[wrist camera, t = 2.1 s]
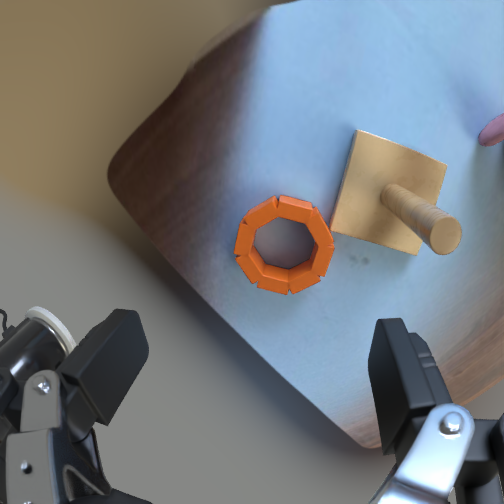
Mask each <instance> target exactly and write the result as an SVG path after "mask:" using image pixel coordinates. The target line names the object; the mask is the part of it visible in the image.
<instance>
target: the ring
mask: <svg viewBox="0 0 504 504" xmlns="http://www.w3.org/2000/svg"><path fill="white" fill-rule="evenodd" d="M277 217H281V218H285V219H289V220H292V221H296V222H300V223H304V224H306V226H307V228H308V229H309V231H310V233H311V235H312V236H313V238H314V240H315V244H314V247H313V250H312V253H311V257H310V259H309V260H307V261H305V262H303V263H301V264H299V265H297V266H295V267H293V268H291V269H289V270H288V269H284V268H280V267H276V266H272V265H269V264H266V263H265V262H264V260H263V259H262V257H261V256H260V254H259V253H258V251H257V250H256V248H255V247H254V245H253V243H254V239H255V235H256V231H257V229H258V228H260V227H261V226H263V225H265V224H267V223H269V222H270V221H272V220H274V219H276V218H277ZM333 242H334V240H333V237H332V234H331V232H330V230H329V228H328V226H327V224H326V223H325V221H324V219H323V217H322V215H321V214H320V212H319V210H318V208H317V207H314V208H312V204H311V202H307V201H303V200H299V199H296V198H292V197H288V196H284V195H280V198H279V202H278V200H277V198H276V197H275V196H273V197H271V198H269V199H267V200H266V201H264V202H262V203H261V204H259V205H257V206H256V207H254V208H252V209H251V210H249V211H248V212H247V214H246V216H244V218H243V219H242V221H241V222H240V224H239V229H238V234H237V239H236V244H235V248H234V254H237V256H236V258H235V260H236V261H237V263H238V264H239V266H240V267H241V269H242V270H243V272H244V273H245V274H246V276H247V277H248V279H249V280H250V282H251V283H252V284H253V283H255V282H257V281H258V284H257V288H261V289H265V290H269V291H273V292H277V293H281V294H285V295H287V294H288V291H289V289H290V291H291V293H292V294H295V293H297V292H299V291H301V290H303V289H305V288H307V287H309V286H311V285H313V284H316V283H318V282H320V276H323V277H324V276H325V274H326V271H327V268H328V266H329V263H330V260H331V257H332V254H333V251H334V245H333Z"/></svg>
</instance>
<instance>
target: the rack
mask: <svg viewBox="0 0 504 504" xmlns="http://www.w3.org/2000/svg"><path fill="white" fill-rule="evenodd" d="M446 169H447V165H446V164H444V163H442V162H440V161H438V160H435V159H433V158H431V157H429V156H426V155H424V154H422V153H419V152H417V151H415V150H412V149H410V148H408V147H405V146H403V145H400V144H397V143H395V142H392V141H390V140H387V139H384V138H382V137H379V136H376V135H373V134H370V133H367V132H364V131H361V130H355V133H354V137H353V141H352V145H351V149H350V153H349V157H348V160H347V164H346V168H345V172H344V175H343V179H342V182H341V186H340V189H339V193H338V196H337V200H336V203H335V207H334V210H333V213H332V217H331V220H330V223H329V229H330V231H333V232H337V233H340V234H344V235H348V236H351V237H355V238H358V239H362V240H365V241H369V242H372V243H376V244H379V245H382V246H386V247H389V248H392V249H396V250H399V251H402V252H406V253H409V254H412V255H415V256H417V254H418V251H419V249H420V246H421V244H422V241H423V242H424V243H425V244H427V245H428V246H429V247H430V248H431V249H432V250H433V251H434V252H435V253H436V254H439V255H447V254H449V253H451V252H453V251H454V250H455V249H456V248H457V246H458V245H459V243H460V240H461V235H462V231H461V226H460V224H459V222H458V221H457V220H456V219H455V218H454V217H452V216H451V215H449V214H448V213H446V212H444V211H443V210H441V209H439V208H438V207H436V206H435V205H436V202H437V199H438V196H439V193H440V190H441V186H442V183H443V179H444V176H445V172H446Z"/></svg>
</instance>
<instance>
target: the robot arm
mask: <svg viewBox="0 0 504 504" xmlns="http://www.w3.org/2000/svg"><path fill="white" fill-rule="evenodd" d="M0 313H2V314H3V316H4V318H3V330H4V332H3V333H2V336H3V338H4V339H3V340H2V341H1V342H0V504H152V503H151V502H149V501H146V500H143V499H140V498H137V497H135V496H132V495H129V494H126V493H123V492H121V491H119V490H116V489H114V488H112V487H111V486H110V484H109V482H108V481H107V479H106V477H105V475H104V472H103V468H102V464H101V460H100V455H99V450H98V446H97V440H96V435H95V430H94V429H93V427H92V426H93V424H94V422H98V423H100V424H103V425H106V426H108V424H109V423H110V421H111V419H112V418H113V416H114V414H115V412H116V411H117V409H118V407H119V406H120V404H121V402H122V400H123V399H124V397H125V395H126V394H127V392H128V390H129V389H130V387H131V385H132V384H133V382H134V380H135V379H136V377H137V375H138V374H139V372H140V370H141V369H142V367H143V366H144V364H145V362H146V360H147V358H148V353H149V347H148V342H147V339H146V336H145V333H144V330H143V327H142V324H141V320H140V317H139V314H138V313H137V312H136V311H134V310H125V309H115V310H114V311H113V312H112V313H111V314H110V315H109V316H108V317H107V318H106V319H105V320H104V321H103V322H101V323H100V324H98V325H96V326H95V327H93V328H92V329H91V330H90V331H89V333H88V334H87V335H86V336H85V338H84V339H82V340H81V341H80V343H79V346H76V347H75V348H74V349H73V351H72V352H71V353H70V354H69V350H68V348H67V346H66V344H65V342H64V341H63V339H62V338H61V336H60V335H59V334H58V333H57V331H56V330H55V329H54V328H53V327H52V326H51V325H50V324H48V323H47V322H46V321H44V320H43V319H41V318H38V317H33V318H31V319H30V318H28V317H27V318H26V319H25V320H24V321H22V322H21V323H20V324H19V325H18V326H17V327H16V328H15V327H14V326H12V325H11V326H10V327H9V328H8V329H7V327H6V321H7V314H6V312H5V311H4V310H2V309H0ZM368 373H369V378H370V382H371V387H372V392H373V397H374V402H375V408H376V413H377V419H378V425H379V431H380V437H381V443H382V450H383V455H389V454H395V457H396V464H395V465H394V466H393V468H392V470H391V471H390V473H389V474H388V476H387V477H386V478H385V480H384V482H383V483H382V485H381V486H380V487H379V489H378V490H377V491H376V493H375V494H374V495H373V497H372V498H371V499H370V501H369V502H368V503H367V504H450V502H448V500H447V499H448V496H449V493H450V491H451V489H452V487H455V493H456V501H457V504H504V502H503V496H504V413H503V415H502V416H501V417H500V419H499V420H485V419H484V420H483V419H473V417H472V415H471V414H470V412H468V410H467V409H465V408H464V407H462V406H460V405H458V404H453V402H452V399H451V397H450V395H449V392H448V390H447V387H446V385H445V383H444V380H443V378H442V376H441V373H440V371H439V369H438V367H437V366H436V362H435V360H434V358H433V356H432V354H431V351H430V349H429V347H428V345H427V343H426V342H425V341H424V340H423V339H422V338H421V337H420V336H419V335H418V334H416V333H408V331H407V329H406V326H405V324H404V322H403V320H402V319H401V318H388V319H378V320H377V322H376V326H375V331H374V335H373V340H372V344H371V349H370V353H369V358H368ZM498 474H499V476H500V481H501V485H500V481H499V476H498ZM501 486H502V490H501ZM502 491H503V496H502Z"/></svg>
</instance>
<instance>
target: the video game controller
mask: <svg viewBox="0 0 504 504" xmlns="http://www.w3.org/2000/svg"><path fill="white" fill-rule="evenodd" d="M478 139H479V143H480V145H482V146H493V145H495V144H497V143H499V142H501V141H502V140H504V113H503V114H501V115H500V116H498V117H496V118H495V119H494V120H492V121H491V122H490V123H489V124H488V125H486V126H485V128H484V129H483V130H482V131H481V133H480V135H479V137H478Z"/></svg>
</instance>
